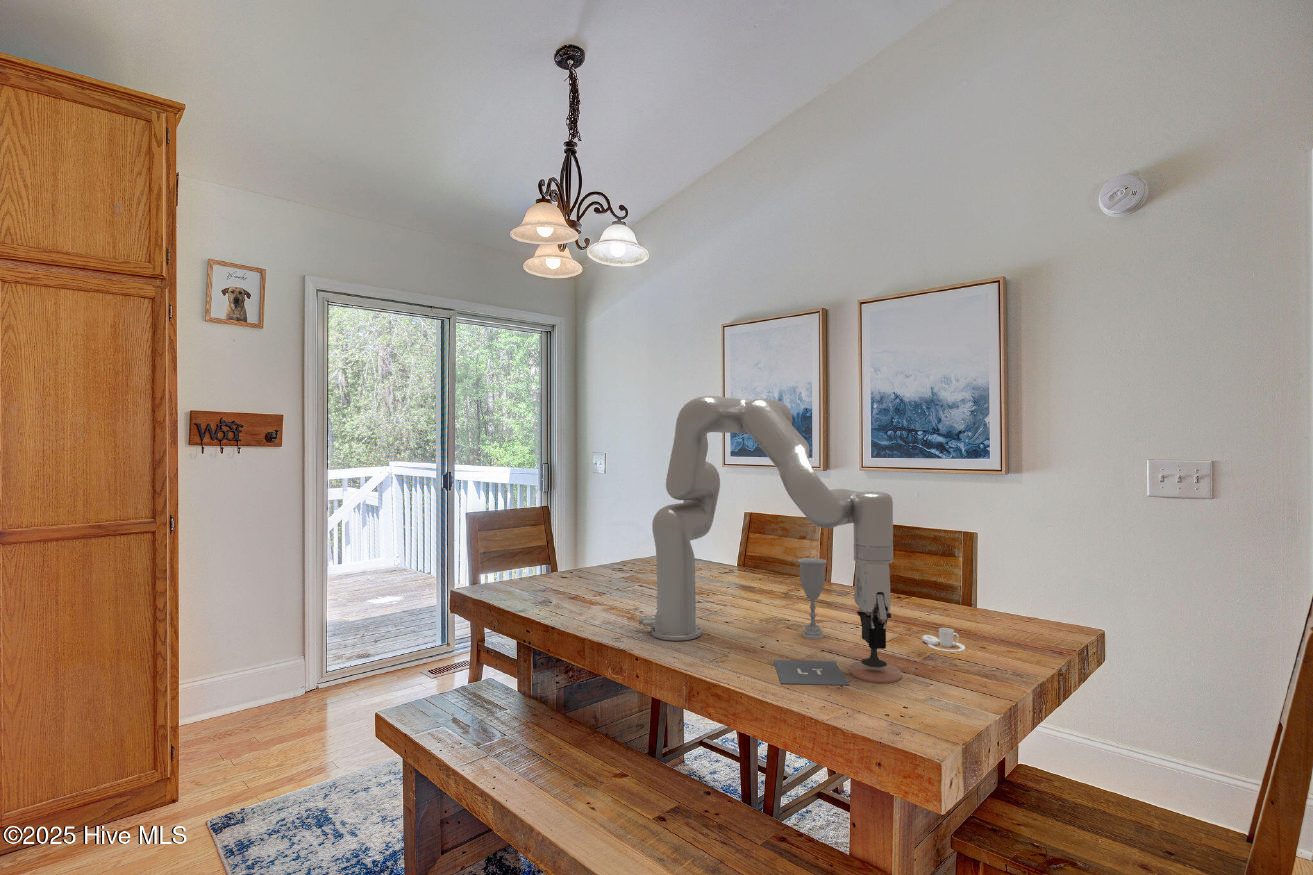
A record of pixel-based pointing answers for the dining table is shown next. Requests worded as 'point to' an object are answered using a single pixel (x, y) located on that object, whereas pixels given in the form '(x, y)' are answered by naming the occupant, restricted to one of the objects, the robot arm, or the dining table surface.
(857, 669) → the coaster
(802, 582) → the chalice
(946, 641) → the teacup and saucer
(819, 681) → the card
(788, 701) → the dining table surface
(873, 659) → the sundae
